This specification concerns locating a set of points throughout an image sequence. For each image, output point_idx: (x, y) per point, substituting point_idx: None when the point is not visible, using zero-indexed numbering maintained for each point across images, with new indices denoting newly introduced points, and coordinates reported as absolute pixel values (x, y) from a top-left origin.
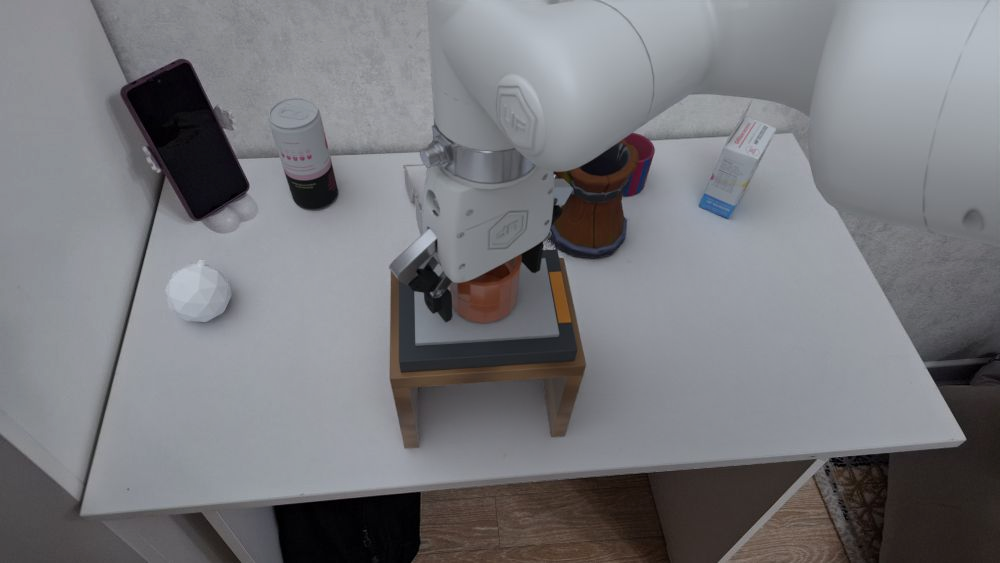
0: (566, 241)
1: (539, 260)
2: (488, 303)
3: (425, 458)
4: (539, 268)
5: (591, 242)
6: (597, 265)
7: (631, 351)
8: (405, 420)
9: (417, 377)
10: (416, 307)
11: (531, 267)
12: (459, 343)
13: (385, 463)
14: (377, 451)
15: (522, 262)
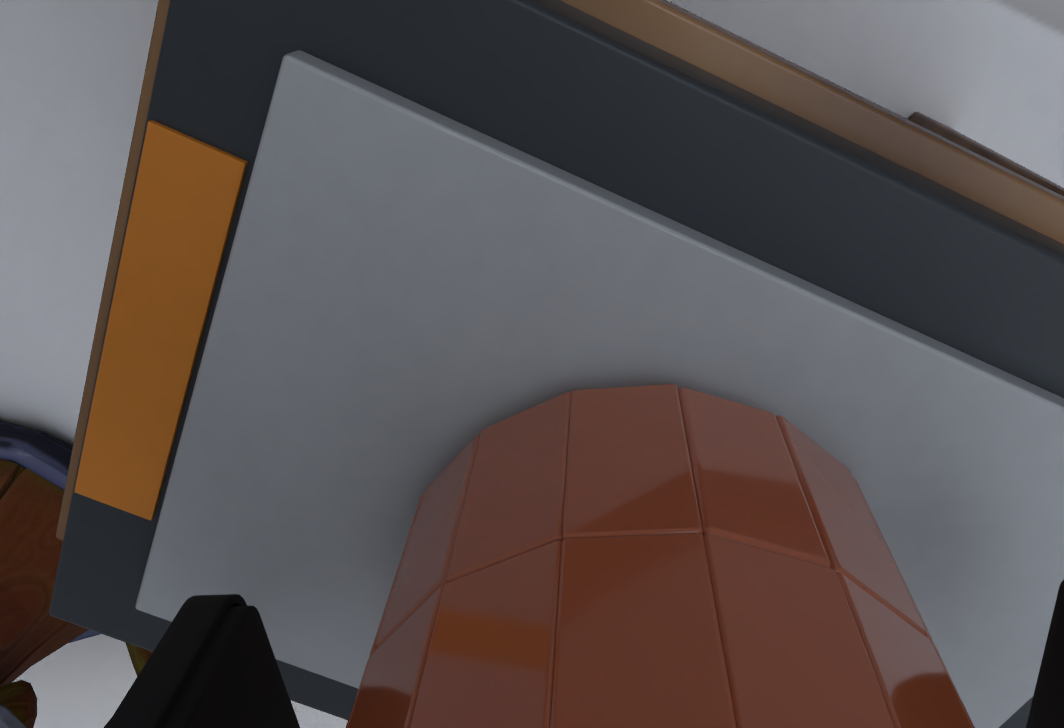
0: None
1: (135, 715)
2: (810, 579)
3: (920, 62)
4: (180, 622)
5: (17, 487)
6: (44, 405)
7: (51, 66)
8: (1047, 180)
9: None
10: None
11: (238, 657)
12: (980, 358)
13: (1041, 115)
14: (1033, 168)
15: (286, 695)
